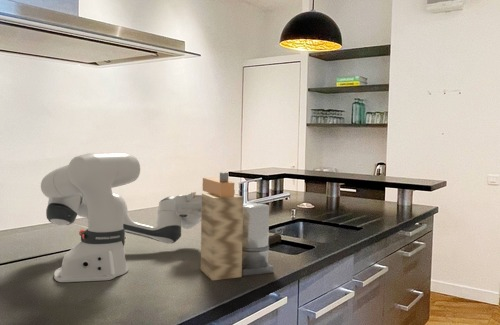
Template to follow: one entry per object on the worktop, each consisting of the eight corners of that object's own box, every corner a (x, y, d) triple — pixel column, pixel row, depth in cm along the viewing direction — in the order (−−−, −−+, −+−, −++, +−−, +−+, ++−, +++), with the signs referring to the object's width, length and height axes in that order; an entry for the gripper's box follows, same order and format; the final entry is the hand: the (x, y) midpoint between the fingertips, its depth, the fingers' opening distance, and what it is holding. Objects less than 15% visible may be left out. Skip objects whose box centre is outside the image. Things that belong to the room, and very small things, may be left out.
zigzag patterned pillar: (212, 280, 137) (213, 198, 136) (200, 269, 148) (201, 193, 146) (241, 277, 141) (243, 197, 140) (228, 266, 152) (229, 192, 151)
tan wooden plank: (220, 197, 138) (221, 173, 137) (202, 190, 155) (202, 169, 155) (234, 196, 139) (234, 173, 139) (214, 190, 157) (214, 169, 156)
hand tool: (273, 241, 192) (274, 231, 192) (281, 243, 190) (281, 232, 190) (248, 250, 177) (248, 238, 177) (256, 251, 175) (256, 240, 175)
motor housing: (242, 275, 142) (244, 208, 141) (230, 266, 152) (231, 203, 151) (274, 272, 147) (275, 207, 145) (259, 263, 157) (261, 202, 156)
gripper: (222, 213, 174) (234, 200, 163) (172, 216, 166) (180, 202, 154) (220, 199, 177) (231, 185, 165) (170, 200, 168) (178, 186, 157)
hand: (206, 193), depth 160 cm, fingers open, 8 cm apart
